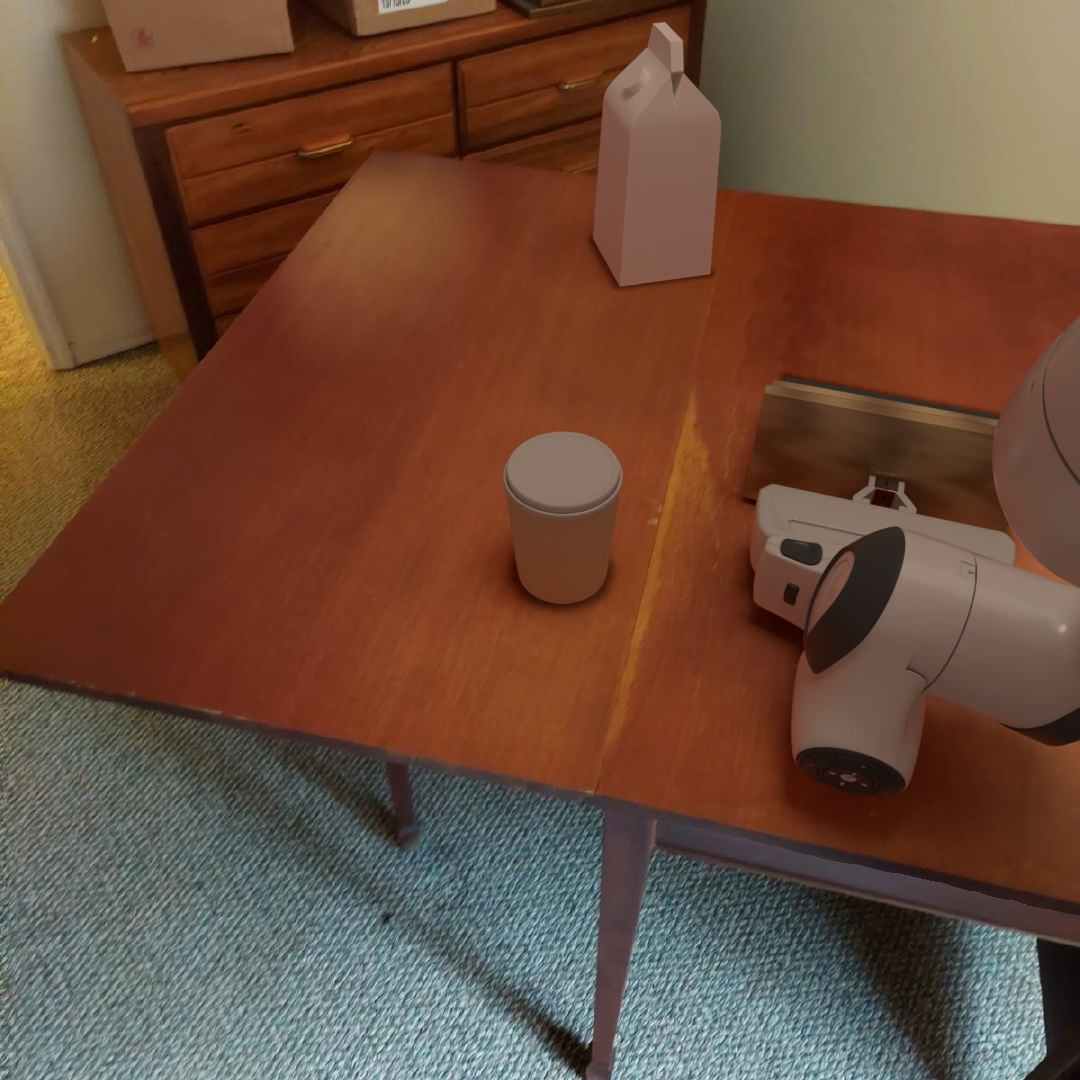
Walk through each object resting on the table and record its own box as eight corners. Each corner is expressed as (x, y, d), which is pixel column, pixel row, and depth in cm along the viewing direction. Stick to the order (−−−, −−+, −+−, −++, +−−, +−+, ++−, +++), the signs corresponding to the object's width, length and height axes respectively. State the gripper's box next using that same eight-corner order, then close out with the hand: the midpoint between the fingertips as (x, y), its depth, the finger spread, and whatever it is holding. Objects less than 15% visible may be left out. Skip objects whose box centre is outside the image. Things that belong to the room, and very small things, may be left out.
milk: (710, 274, 116) (740, 46, 98) (619, 286, 114) (632, 57, 96) (678, 227, 124) (699, 8, 106) (592, 238, 123) (599, 18, 104)
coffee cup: (638, 568, 83) (647, 464, 74) (566, 630, 78) (567, 527, 69) (558, 517, 87) (558, 413, 79) (486, 573, 83) (477, 469, 74)
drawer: (994, 455, 92) (1042, 345, 83) (993, 556, 83) (1047, 444, 74) (766, 412, 98) (788, 304, 88) (742, 502, 88) (764, 392, 79)
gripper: (1030, 607, 68) (1027, 482, 77) (744, 543, 73) (773, 432, 82) (1000, 661, 72) (1000, 536, 82) (733, 597, 77) (761, 486, 86)
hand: (884, 484), depth 82 cm, fingers closed, pressing on drawer
